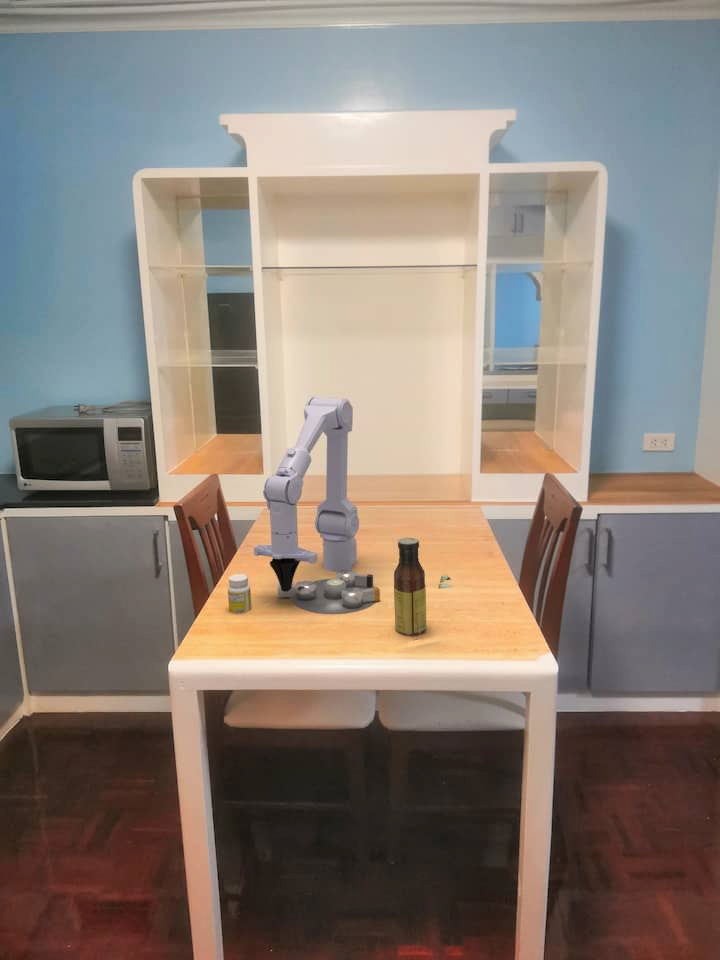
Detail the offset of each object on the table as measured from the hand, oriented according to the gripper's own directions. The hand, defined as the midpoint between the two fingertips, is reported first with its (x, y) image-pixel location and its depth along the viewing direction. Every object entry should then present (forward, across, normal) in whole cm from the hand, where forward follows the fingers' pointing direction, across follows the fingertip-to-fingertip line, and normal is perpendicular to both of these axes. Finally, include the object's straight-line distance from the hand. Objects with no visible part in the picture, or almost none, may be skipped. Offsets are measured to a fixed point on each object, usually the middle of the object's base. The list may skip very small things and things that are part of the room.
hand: (286, 589), depth 144 cm
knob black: (+3, +10, +14) cm, 18 cm away
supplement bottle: (+4, -8, -7) cm, 11 cm away
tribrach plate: (+4, +8, +7) cm, 12 cm away
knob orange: (+3, +15, +5) cm, 16 cm away
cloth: (+5, +21, +27) cm, 35 cm away
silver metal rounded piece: (+3, +1, +3) cm, 4 cm away
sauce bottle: (+4, +29, -3) cm, 30 cm away
